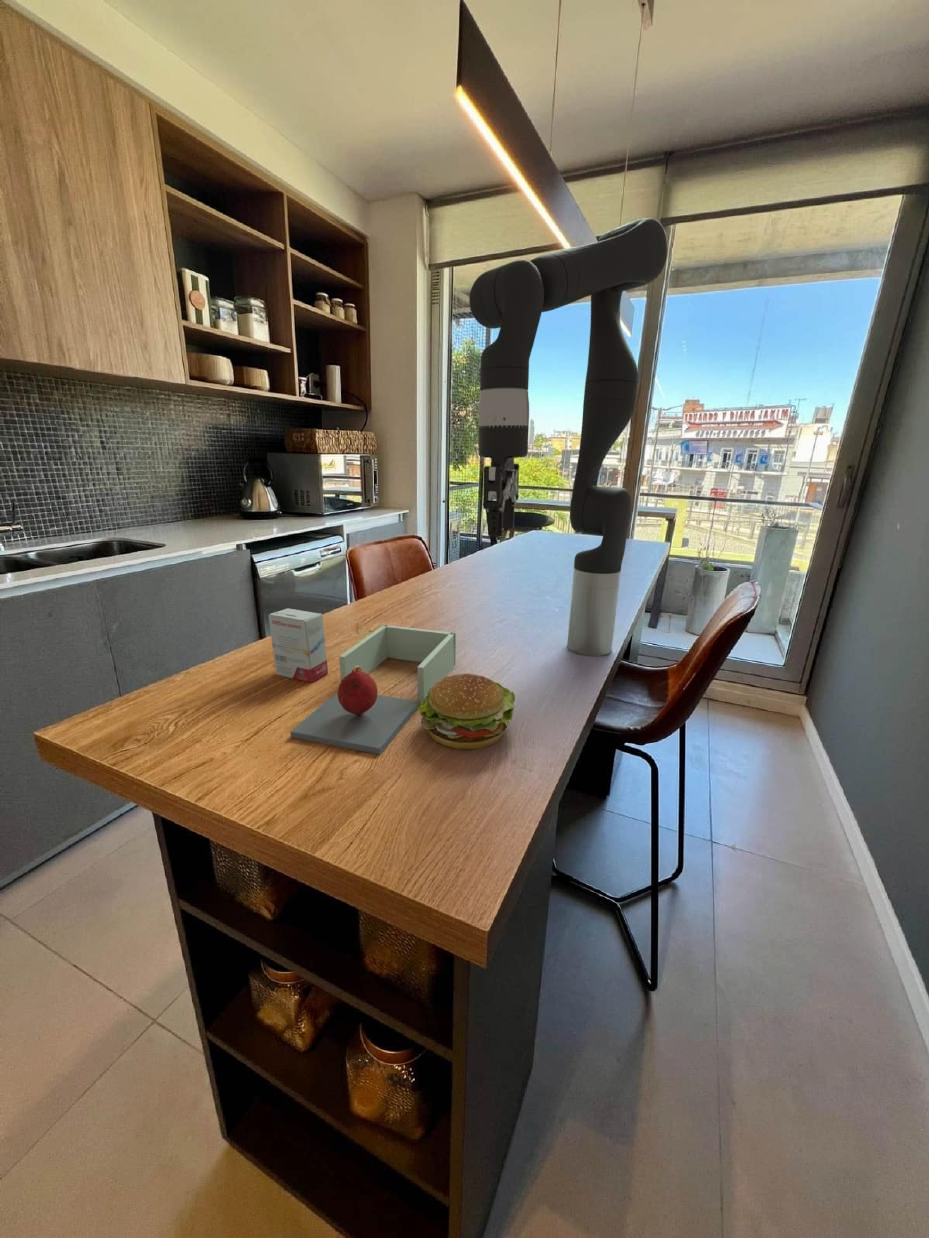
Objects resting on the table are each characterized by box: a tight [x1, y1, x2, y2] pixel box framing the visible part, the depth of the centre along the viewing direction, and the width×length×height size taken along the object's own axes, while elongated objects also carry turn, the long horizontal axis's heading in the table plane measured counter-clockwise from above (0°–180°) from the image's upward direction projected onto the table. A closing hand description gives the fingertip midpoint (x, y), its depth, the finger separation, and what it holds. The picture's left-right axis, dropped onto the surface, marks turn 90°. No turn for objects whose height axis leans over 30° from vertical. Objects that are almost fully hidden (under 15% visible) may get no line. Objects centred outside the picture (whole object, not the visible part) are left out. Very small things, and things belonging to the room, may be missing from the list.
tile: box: [289, 691, 420, 756], centre depth 74 cm, size 14×14×1 cm
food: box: [416, 673, 516, 750], centre depth 71 cm, size 14×14×8 cm
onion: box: [337, 665, 378, 716], centre depth 73 cm, size 6×6×8 cm
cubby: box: [338, 624, 457, 705], centre depth 88 cm, size 17×15×6 cm
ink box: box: [268, 608, 329, 683], centre depth 88 cm, size 9×5×12 cm, turn 65°
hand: (501, 532), depth 79 cm, fingers open, 8 cm apart
